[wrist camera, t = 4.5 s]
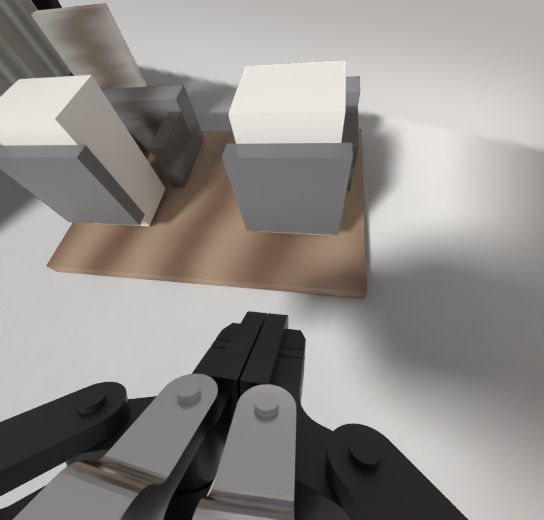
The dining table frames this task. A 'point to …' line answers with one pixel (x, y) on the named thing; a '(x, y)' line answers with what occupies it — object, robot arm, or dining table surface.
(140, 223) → the button
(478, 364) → the dining table surface
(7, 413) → the dining table surface
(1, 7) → the milk frother
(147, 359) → the dining table surface
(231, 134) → the button board
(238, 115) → the button
